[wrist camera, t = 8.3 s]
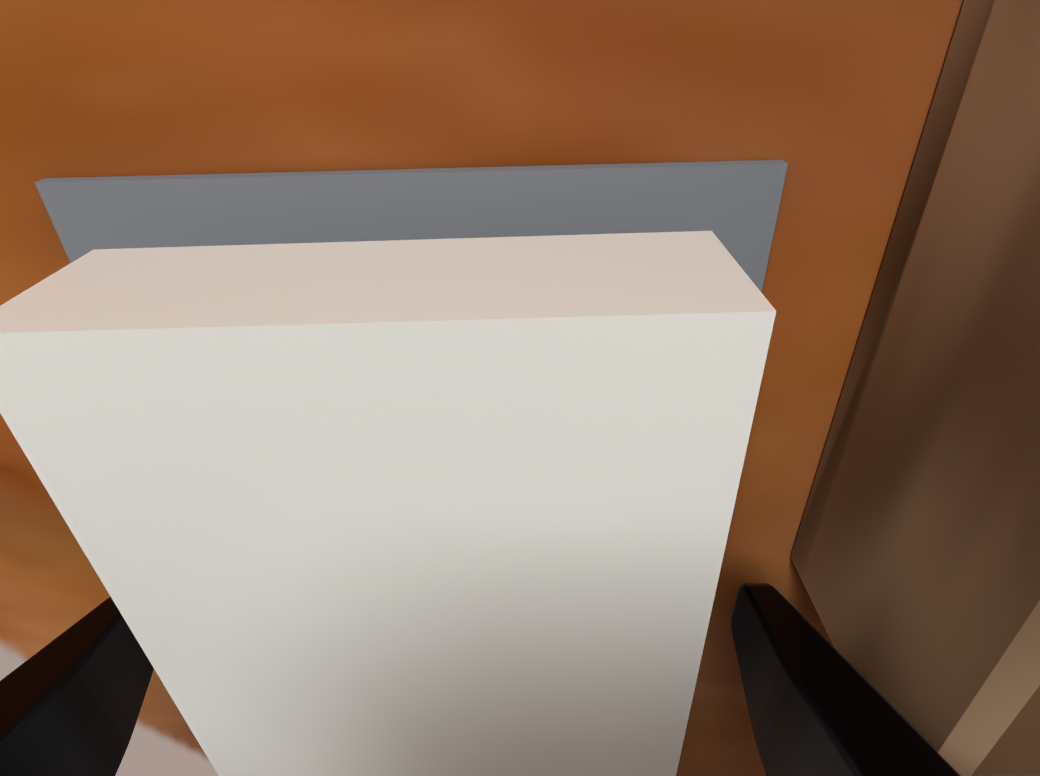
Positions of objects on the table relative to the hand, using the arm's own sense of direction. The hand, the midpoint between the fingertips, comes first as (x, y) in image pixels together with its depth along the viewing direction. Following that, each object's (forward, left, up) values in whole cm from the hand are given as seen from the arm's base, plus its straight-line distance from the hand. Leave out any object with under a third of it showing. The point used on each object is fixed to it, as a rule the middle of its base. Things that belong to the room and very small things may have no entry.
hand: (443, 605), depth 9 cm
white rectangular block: (0, 0, 0) cm, 1 cm away
